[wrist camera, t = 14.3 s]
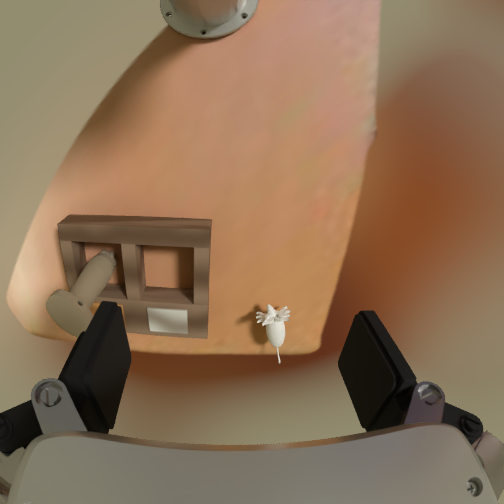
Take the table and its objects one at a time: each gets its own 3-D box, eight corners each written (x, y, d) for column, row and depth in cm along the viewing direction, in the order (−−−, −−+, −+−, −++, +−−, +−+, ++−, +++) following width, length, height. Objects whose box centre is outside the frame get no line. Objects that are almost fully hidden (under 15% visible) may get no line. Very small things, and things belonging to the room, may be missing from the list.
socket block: (69, 214, 38) (56, 224, 34) (211, 219, 41) (210, 231, 37) (87, 312, 46) (78, 327, 42) (208, 322, 48) (207, 339, 44)
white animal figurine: (253, 298, 47) (256, 317, 43) (286, 293, 47) (292, 311, 43) (262, 351, 52) (265, 370, 48) (290, 346, 52) (295, 364, 48)
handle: (114, 280, 44) (80, 343, 30) (85, 252, 41) (40, 308, 28) (132, 262, 42) (99, 325, 29) (102, 233, 40) (56, 287, 27)
